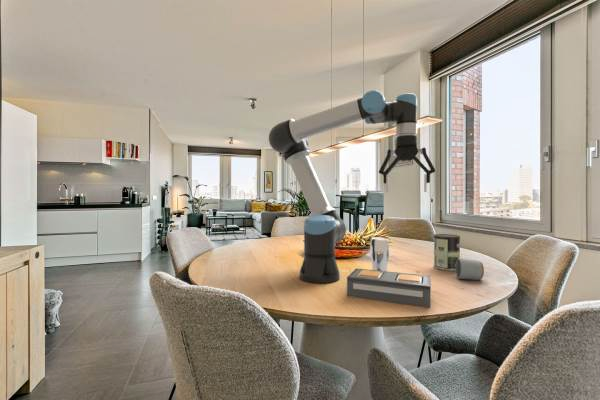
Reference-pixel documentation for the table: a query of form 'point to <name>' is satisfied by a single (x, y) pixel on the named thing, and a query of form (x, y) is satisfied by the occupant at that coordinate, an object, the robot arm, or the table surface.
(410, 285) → the switch console
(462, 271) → the grey cylinder
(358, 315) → the table surface
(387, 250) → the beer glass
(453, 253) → the coffee can
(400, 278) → the right switch
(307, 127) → the robot arm
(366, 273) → the left switch
